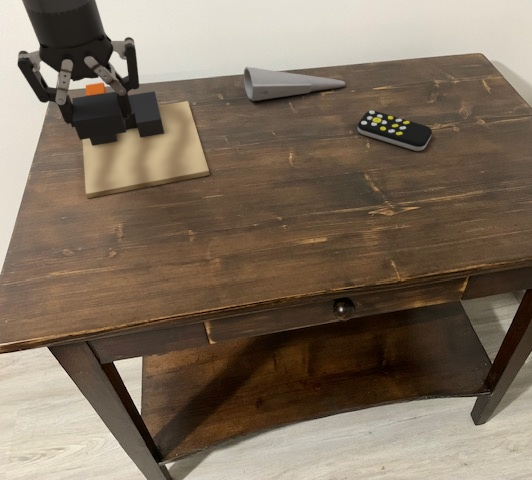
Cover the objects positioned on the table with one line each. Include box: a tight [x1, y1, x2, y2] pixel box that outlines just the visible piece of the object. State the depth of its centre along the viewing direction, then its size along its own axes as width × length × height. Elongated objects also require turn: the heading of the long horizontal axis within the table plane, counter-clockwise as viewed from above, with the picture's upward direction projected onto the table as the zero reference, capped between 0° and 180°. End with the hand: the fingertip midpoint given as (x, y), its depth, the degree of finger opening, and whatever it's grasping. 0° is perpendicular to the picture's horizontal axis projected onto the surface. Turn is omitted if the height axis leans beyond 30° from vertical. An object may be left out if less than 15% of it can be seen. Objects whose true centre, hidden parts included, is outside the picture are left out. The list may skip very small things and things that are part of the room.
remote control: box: [357, 110, 433, 152], centre depth 95 cm, size 6×13×2 cm, turn 64°
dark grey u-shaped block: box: [90, 91, 164, 146], centre depth 93 cm, size 12×9×3 cm
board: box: [82, 100, 210, 199], centre depth 91 cm, size 19×21×1 cm
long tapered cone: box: [243, 66, 346, 102], centre depth 103 cm, size 6×6×19 cm
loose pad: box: [71, 82, 126, 141], centre depth 73 cm, size 6×8×3 cm
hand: (100, 119), depth 72 cm, fingers closed on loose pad, 6 cm apart
